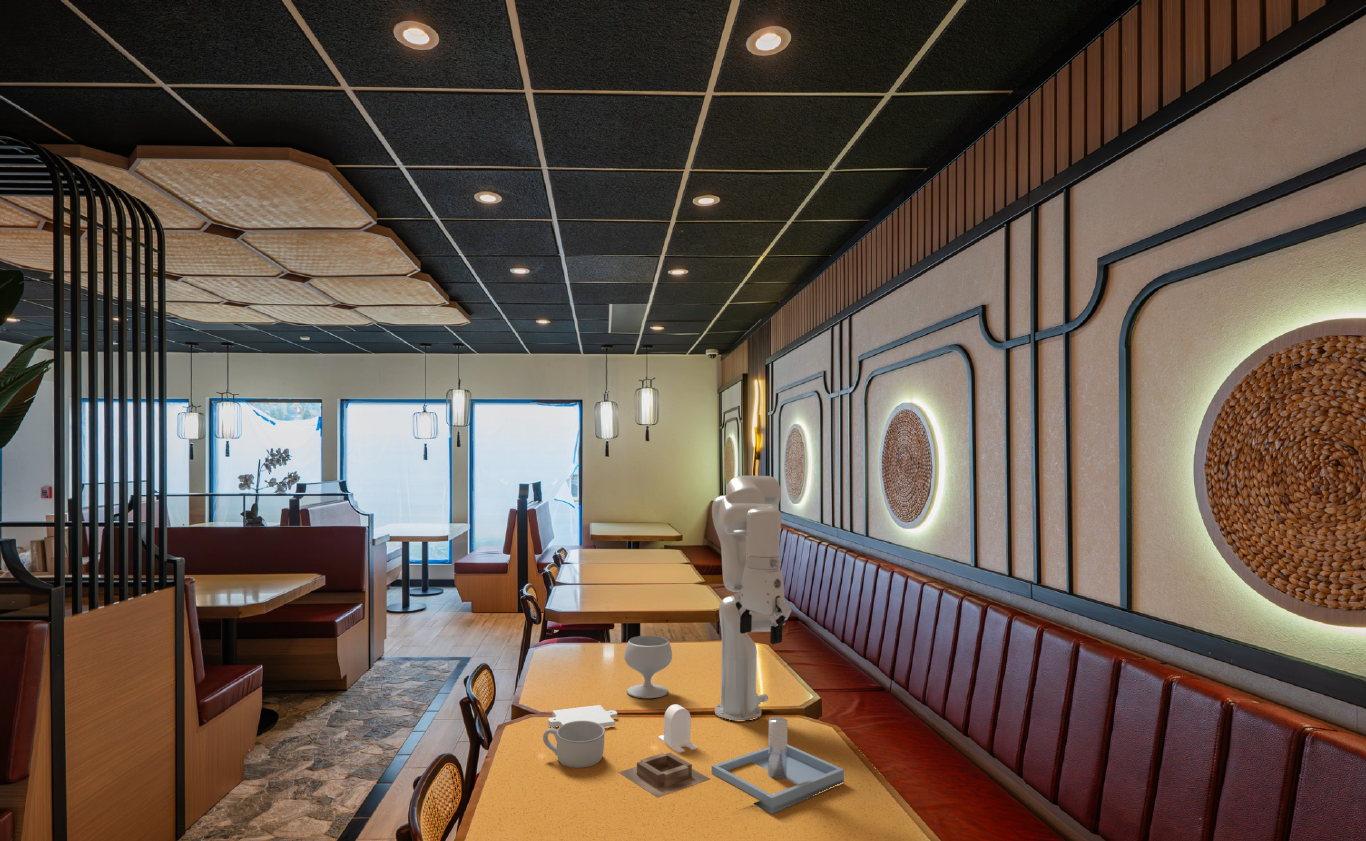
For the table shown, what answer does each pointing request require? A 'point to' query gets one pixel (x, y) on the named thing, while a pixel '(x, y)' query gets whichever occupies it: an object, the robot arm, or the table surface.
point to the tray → (800, 770)
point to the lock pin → (777, 748)
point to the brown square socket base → (663, 774)
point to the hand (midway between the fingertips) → (760, 637)
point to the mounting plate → (583, 716)
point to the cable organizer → (677, 728)
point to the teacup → (577, 743)
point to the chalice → (648, 663)
